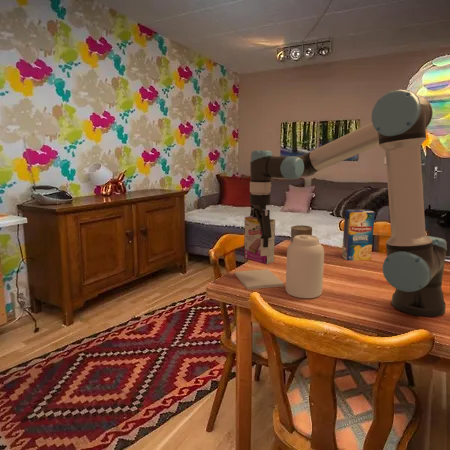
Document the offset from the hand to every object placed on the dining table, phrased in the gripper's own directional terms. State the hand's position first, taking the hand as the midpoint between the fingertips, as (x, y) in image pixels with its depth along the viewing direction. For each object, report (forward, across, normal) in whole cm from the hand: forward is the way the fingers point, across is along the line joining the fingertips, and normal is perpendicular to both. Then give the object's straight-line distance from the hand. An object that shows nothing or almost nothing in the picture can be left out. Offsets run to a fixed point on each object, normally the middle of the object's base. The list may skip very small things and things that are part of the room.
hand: (258, 251), depth 139 cm
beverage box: (+12, +16, -53) cm, 57 cm away
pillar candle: (+12, +26, -30) cm, 42 cm away
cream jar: (+12, -16, -11) cm, 23 cm away
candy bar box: (+4, 0, 0) cm, 4 cm away
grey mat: (+11, 0, 0) cm, 11 cm away
